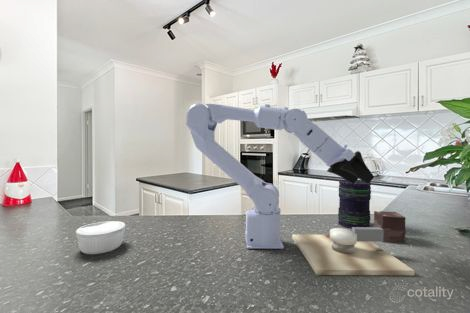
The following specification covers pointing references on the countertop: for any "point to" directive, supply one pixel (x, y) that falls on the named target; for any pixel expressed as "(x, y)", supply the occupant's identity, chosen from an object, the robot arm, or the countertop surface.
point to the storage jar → (354, 204)
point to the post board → (348, 257)
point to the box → (391, 225)
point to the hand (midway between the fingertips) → (362, 180)
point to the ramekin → (100, 237)
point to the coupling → (356, 235)
